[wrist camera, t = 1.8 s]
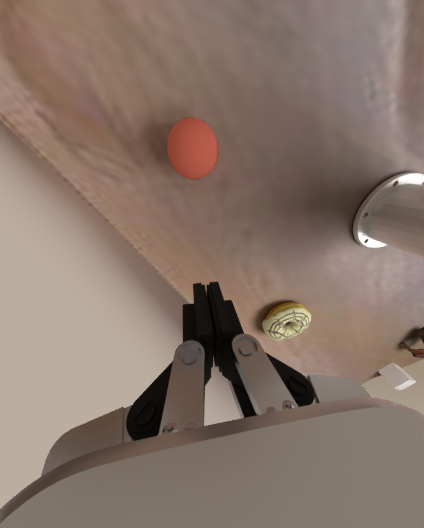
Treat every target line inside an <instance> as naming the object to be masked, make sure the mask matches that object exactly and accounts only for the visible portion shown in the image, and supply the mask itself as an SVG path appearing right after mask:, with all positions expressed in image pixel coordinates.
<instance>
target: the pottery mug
mask: <svg viewBox="0 0 424 528" xmlns="http://www.w3.org/2000/svg"><path fill="white" fill-rule="evenodd" d="M423 328H424V327H423ZM417 334H418V335H419V336H420V338H421V339H422V341H423V343H424V331H423V330H421V331H419V332H418V333H417ZM402 344H403V346H404V347H405V348H406V349H407V350H408V351H410V352H411V353H412V354H413V356H414V357H420V358H424V349H419V350H415V349H410V348H409V347H408V346H407V345H406V344H405V343H403V342H402Z"/></svg>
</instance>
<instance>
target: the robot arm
mask: <svg viewBox="0 0 424 528" xmlns="http://www.w3.org/2000/svg"><path fill="white" fill-rule="evenodd" d="M353 235H354V238H355V239H356V241H357V242H358V243H360V244H361V245H363V246H366V247H370V248H377V247H381V246H385V245H389V246H392V247H395V248H397V249H400V250H403V251H405V252H408V253H411V254H413V255H416V256H419V257H421V258H424V175H423V174H422V173H416V172H413V173H402V174H398V175H396V176H393V177H391V178H389V179H388V180H386V181H384V182H383V183H382V184H380V185H379V186H378V187H377V188H376V189H375V190H373V191H372V192H371V193H370V194H369V196H368V197H367V198H366V199H365V201H364V202H363V203H362V205H361V207H360V208H359V210H358V212H357V214H356V217H355V220H354V224H353ZM193 292H194V304H184V305H183V343H182V344H180V345H179V346H178V348H177V349H176V351H175V355H174V359H173V361H172V363H171V364H170V365H169V366H168V367H167V368H166V369H165V370H164V371H163V372H162V373H161V374H160V375H159V376H158V378H157V379H156V380H155V381H154V382H153V383H152V384H151V385H150V386H149V387H148V388H147V389H146V390H145V391H144V392H143V394H142V395H141V396H140V397H139V398H138V399H137V400H136V401H135V402H134V404H133V405H131V406H129V407H127V408H123V407H122V408H119V409H117V410H115V411H112V412H110V413H108V414H105V415H103V416H101V417H98V418H96V419H94V420H91V421H89V422H87V423H85V424H82V425H80V426H77V427H75V428H73V429H71V430H69V431H68V432H66V433H64V434H63V435H62V436H61V437H60V438H59V439H58V440H57V441H56V443H55V444H54V445H53V447H52V448H51V450H50V452H49V454H48V456H47V458H46V461H45V464H44V468H43V471H42V475H41V477H40V478H39V479H37V480H36V481H34V482H33V483H31V484H30V485H28V486H27V487H26V488H24V489H23V490H22V491H21V492H19V493H18V494H17V495H16V496H14V497H13V498H12V499H11V500H10V501H9V502H8V503H6V504H5V505H4V506H3V507H2V508H1V509H0V528H424V415H422V414H420V413H419V412H417V411H415V410H413V409H411V408H408V407H406V406H403V405H401V404H398V403H394V402H391V401H388V400H383V399H378V398H371V397H370V396H369V394H368V393H367V391H366V390H365V389H364V388H363V387H362V386H361V385H360V384H358V383H357V382H355V381H353V380H351V379H347V378H339V377H329V376H319V375H308V376H303V375H302V374H301V373H299V372H298V371H296V370H294V369H293V368H291V367H289V366H287V365H286V364H284V363H282V362H281V361H279V360H277V359H276V358H274V357H272V356H271V355H269V354H267V353H265V352H264V350H263V348H262V347H261V345H260V343H259V342H258V341H257V339H256V338H254V337H253V336H251V335H249V334H244V332H243V329H242V327H241V324H240V321H239V319H238V316H237V313H236V311H235V308H234V305H233V303H232V301H231V300H225V301H224V299H223V296H222V293H221V290H220V286H219V283H218V282H210V285H207V295H206V290H205V285H201V283H196V284H193ZM213 356H214V361H215V366H216V367H217V366H219V371H220V372H222V374H223V376H224V377H225V378H227V379H228V382H229V385H230V388H231V391H232V394H233V396H234V399H235V402H236V405H237V407H238V411H239V413H240V416H241V419H237V420H232V421H228V422H223V423H217V424H213V425H208V426H204V402H205V385H206V384H207V382H208V381H209V379H210V378H211V367H213Z"/></svg>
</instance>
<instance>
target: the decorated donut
mask: <svg viewBox="0 0 424 528" xmlns="http://www.w3.org/2000/svg"><path fill="white" fill-rule="evenodd" d="M310 321H311V315H310V313H309V312H308V310H307V309H306V308H305V307H304V306H302V305H301V304H298V303H294V302H286V303H282V304H280V305H277V306H275V307H274V308H273V309H271V310H270V311H269V313H268V314H267V316H266V318H265V320H264V321H263V322H262V325H263V329H264V332H265V333H266V335H267V336H268V337H269V338H270V339H273V340H276V341H281V340H286V339H290V338H293V337H295V336H296V335H298V334H300V333H302V332H303V331H304V330H305V329H306V328H307V327H308V325H309V323H310Z"/></svg>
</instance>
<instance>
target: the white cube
mask: <svg viewBox="0 0 424 528" xmlns="http://www.w3.org/2000/svg"><path fill="white" fill-rule="evenodd" d="M378 372H379V373H380V374H381V375H382V376H383V377H384V378H385V379H386V380H387V381H388V382H389V383H390V384H391V385H392V386H393V388H395V389H398V390H402V389H404V388H406V387H408V386H410V385H412V384H414V383H415V382H416V381H415V380H414V379H412V377H411V376H409V375H408V374H407V373H406V372H405V371H404V370H403V369H402V368H401V367H400V366H399V365H396V364H394V363H390V364H389V365H387V366H385V367H384V368H382V369H380V370H379V371H378Z"/></svg>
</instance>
